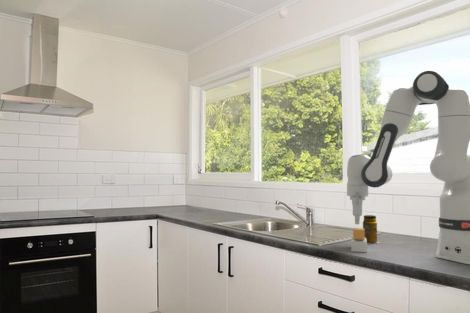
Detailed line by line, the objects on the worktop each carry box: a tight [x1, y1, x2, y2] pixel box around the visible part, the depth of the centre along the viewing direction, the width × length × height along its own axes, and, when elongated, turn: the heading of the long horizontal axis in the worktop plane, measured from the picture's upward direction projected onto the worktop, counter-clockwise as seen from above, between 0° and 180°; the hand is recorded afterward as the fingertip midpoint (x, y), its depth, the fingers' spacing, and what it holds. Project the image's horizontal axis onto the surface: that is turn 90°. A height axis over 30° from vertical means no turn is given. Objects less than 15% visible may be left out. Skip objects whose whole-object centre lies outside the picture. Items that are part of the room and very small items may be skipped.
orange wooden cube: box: [352, 227, 365, 240], centre depth 154 cm, size 4×4×4 cm
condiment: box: [362, 214, 382, 245], centre depth 170 cm, size 7×8×12 cm
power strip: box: [350, 236, 368, 253], centre depth 154 cm, size 10×6×4 cm, turn 162°
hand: (357, 223), depth 161 cm, fingers closed
